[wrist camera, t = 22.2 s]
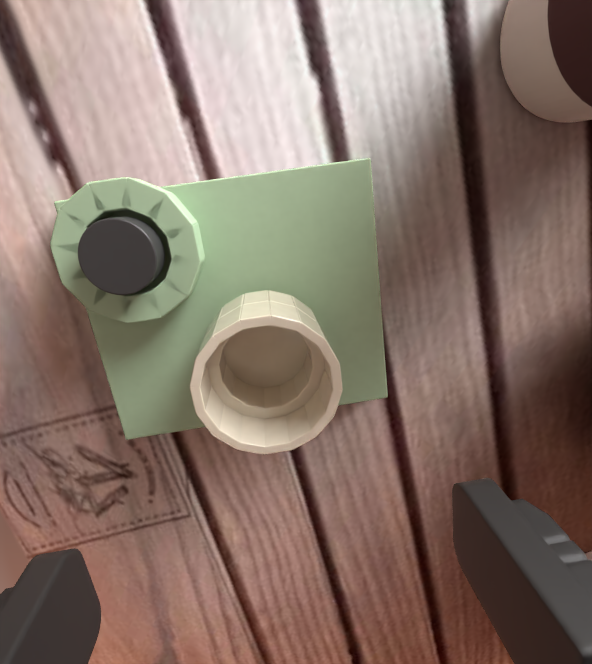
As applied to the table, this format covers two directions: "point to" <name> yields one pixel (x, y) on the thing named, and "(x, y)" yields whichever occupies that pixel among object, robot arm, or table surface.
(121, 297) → the scale
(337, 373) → the cream cup
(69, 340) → the table surface
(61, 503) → the table surface
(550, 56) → the coffee cup
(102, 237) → the button
